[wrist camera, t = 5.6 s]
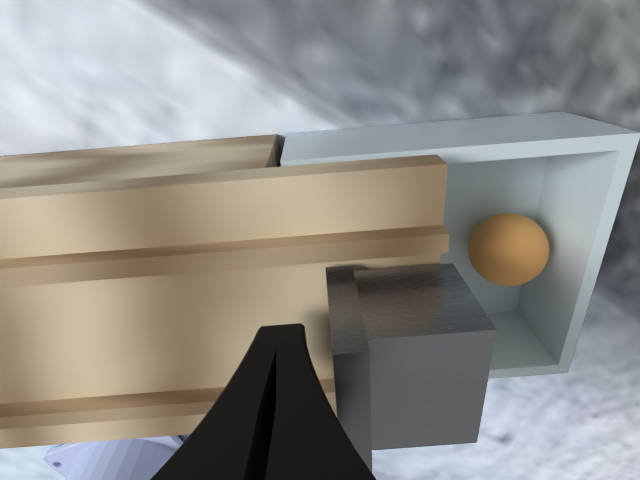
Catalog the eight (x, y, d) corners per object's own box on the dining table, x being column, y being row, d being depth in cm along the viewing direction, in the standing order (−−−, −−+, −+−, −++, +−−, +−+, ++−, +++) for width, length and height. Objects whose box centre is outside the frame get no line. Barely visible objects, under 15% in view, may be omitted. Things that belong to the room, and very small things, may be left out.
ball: (472, 292, 15) (446, 254, 18) (540, 307, 15) (504, 268, 18) (510, 224, 14) (476, 194, 16) (582, 242, 14) (537, 211, 17)
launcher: (50, 349, 20) (-48, 466, 14) (-48, 159, 15) (-246, 225, 10) (396, 322, 20) (431, 430, 14) (401, 124, 15) (455, 170, 10)
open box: (308, 329, 20) (308, 392, 16) (286, 133, 15) (280, 161, 12) (521, 313, 20) (567, 372, 16) (563, 111, 15) (640, 132, 12)
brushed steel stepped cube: (333, 374, 13) (342, 478, 10) (325, 267, 11) (332, 354, 8) (442, 366, 13) (484, 468, 10) (453, 257, 11) (510, 340, 8)
